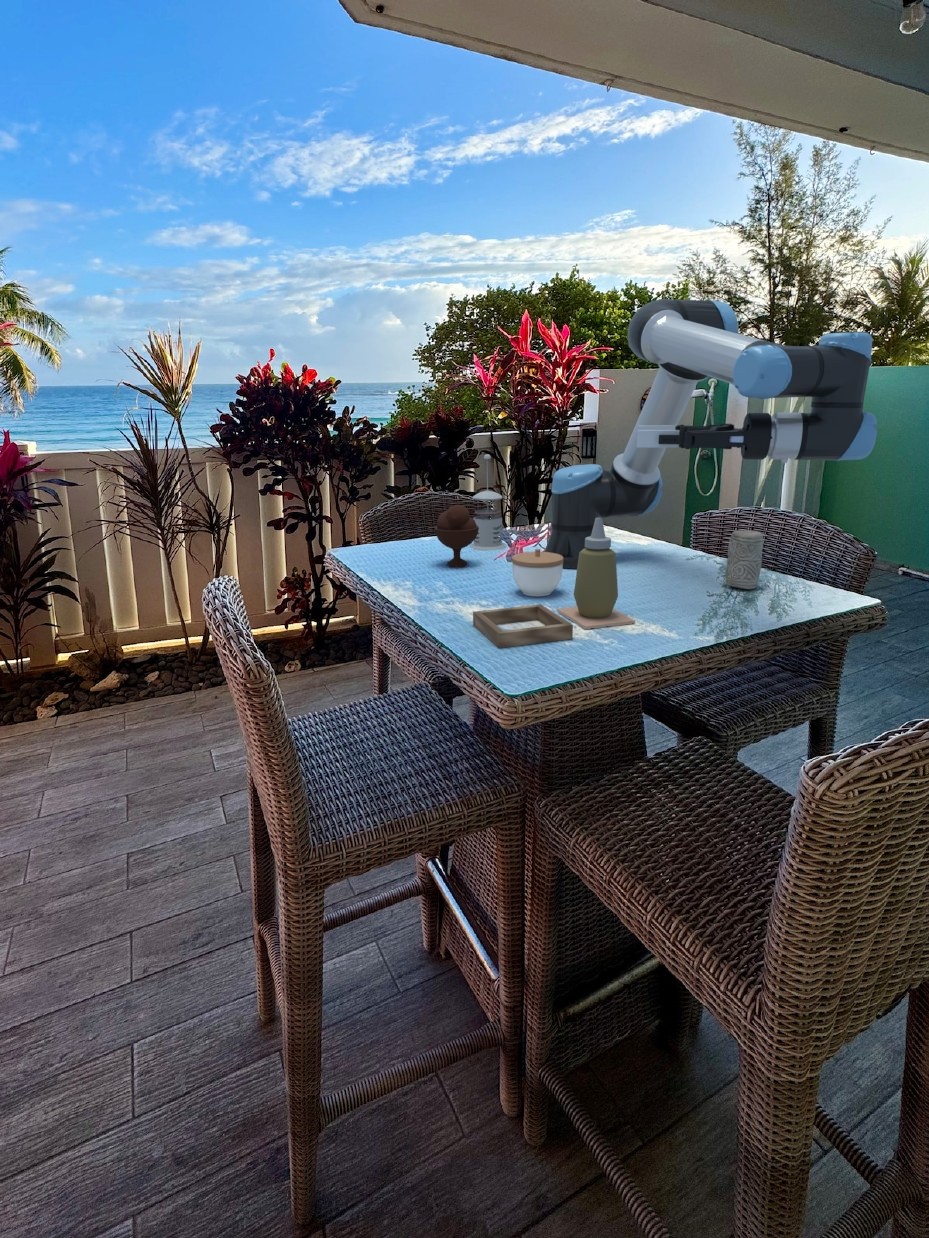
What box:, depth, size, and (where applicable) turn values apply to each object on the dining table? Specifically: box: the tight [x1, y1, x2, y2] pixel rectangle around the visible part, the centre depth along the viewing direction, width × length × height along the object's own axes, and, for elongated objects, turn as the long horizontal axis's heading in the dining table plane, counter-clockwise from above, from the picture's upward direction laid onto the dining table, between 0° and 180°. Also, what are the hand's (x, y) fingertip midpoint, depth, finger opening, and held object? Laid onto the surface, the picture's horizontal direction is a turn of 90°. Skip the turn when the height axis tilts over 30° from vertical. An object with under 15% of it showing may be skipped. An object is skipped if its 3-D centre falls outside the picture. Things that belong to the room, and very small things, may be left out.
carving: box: [724, 529, 764, 590], centre depth 150 cm, size 6×8×12 cm
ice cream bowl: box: [434, 504, 479, 569], centre depth 175 cm, size 11×11×15 cm
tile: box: [556, 605, 636, 630], centre depth 133 cm, size 10×12×1 cm
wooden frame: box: [472, 603, 574, 649], centre depth 126 cm, size 13×13×2 cm
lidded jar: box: [511, 548, 564, 597], centre depth 149 cm, size 11×11×9 cm
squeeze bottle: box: [573, 518, 619, 618], centre depth 131 cm, size 8×8×18 cm
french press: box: [470, 453, 506, 551], centre depth 195 cm, size 10×12×25 cm
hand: (637, 436), depth 123 cm, fingers open, 13 cm apart
